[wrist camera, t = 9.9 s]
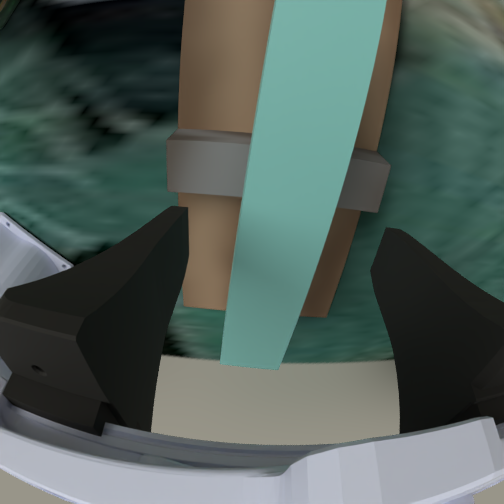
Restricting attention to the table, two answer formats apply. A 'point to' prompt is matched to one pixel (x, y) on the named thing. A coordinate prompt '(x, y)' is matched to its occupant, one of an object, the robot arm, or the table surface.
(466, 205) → the table surface
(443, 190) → the table surface
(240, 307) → the batten
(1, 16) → the coffee jar
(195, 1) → the balance board
